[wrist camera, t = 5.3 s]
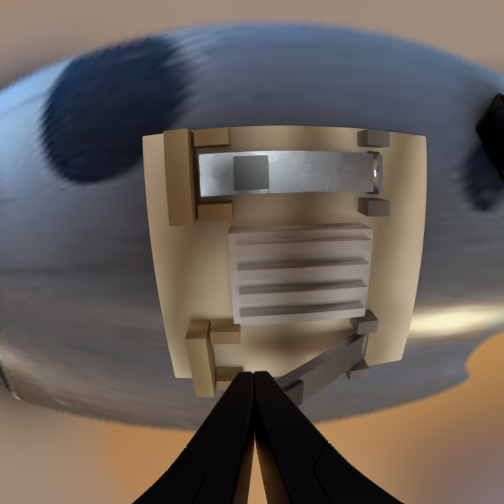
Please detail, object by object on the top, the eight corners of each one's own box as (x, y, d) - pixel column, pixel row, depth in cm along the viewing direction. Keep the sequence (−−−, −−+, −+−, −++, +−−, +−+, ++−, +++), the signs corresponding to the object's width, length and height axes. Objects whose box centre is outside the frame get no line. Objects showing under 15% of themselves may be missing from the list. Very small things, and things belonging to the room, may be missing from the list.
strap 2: (360, 326, 21) (372, 331, 20) (356, 354, 22) (367, 359, 21) (237, 396, 15) (250, 407, 14) (241, 426, 16) (252, 437, 15)
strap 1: (376, 152, 17) (384, 151, 16) (376, 193, 18) (384, 195, 17) (200, 152, 17) (198, 151, 16) (202, 197, 18) (200, 199, 17)
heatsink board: (418, 137, 18) (449, 134, 14) (397, 353, 24) (415, 379, 20) (147, 137, 18) (125, 131, 14) (177, 370, 23) (168, 401, 20)
